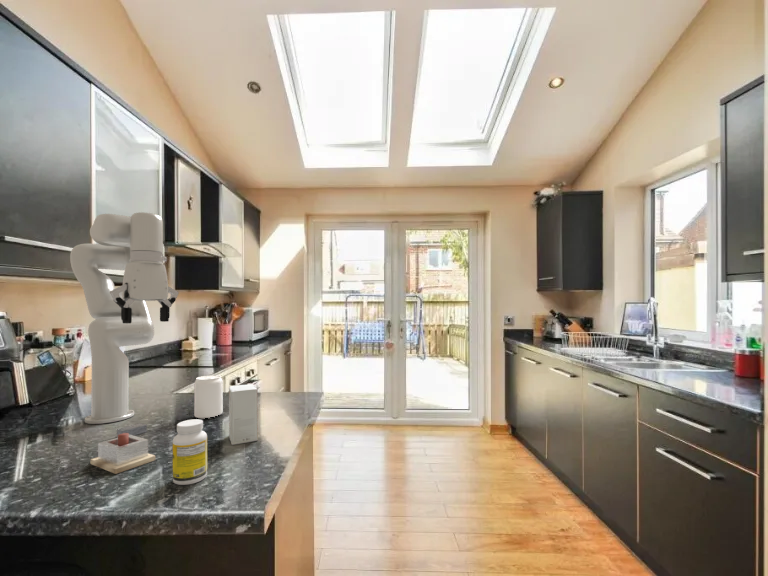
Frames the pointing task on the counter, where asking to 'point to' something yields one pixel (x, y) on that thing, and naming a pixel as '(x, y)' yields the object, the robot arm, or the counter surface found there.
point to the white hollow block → (122, 450)
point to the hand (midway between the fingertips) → (146, 322)
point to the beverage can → (208, 396)
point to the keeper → (124, 440)
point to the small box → (243, 414)
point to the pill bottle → (189, 453)
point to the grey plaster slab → (133, 429)
